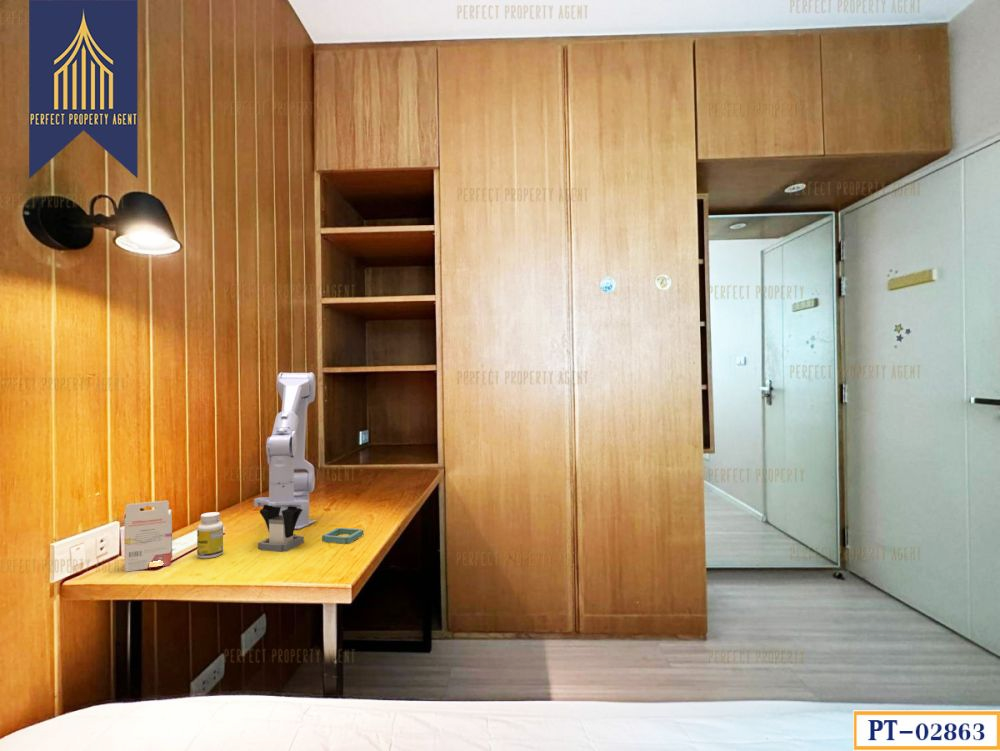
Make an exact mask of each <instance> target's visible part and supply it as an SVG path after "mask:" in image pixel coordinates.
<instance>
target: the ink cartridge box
mask: <svg viewBox="0 0 1000 751" xmlns="http://www.w3.org/2000/svg"><path fill="white" fill-rule="evenodd" d="M147 507H149V508H154V509H146V510H141V509H144V508H147ZM169 507H170V502H169V500H159V501H148V502H147V501H146V502H138V503H137V502H136V503H128V504H126V505H125V515H124V516H125V517H124V520H123V521H124V522H123V525H124V528H123V529H124V530H123V531H124V535H123V536H124V542H123V544H124V547H123V549H124V572H125V573H127V572H133V571H134V572H135V571H142V570H149V569H150V568H149V566H148V564H149V563H150V562H153V561H158V560H161V561H163V563H164V564H163V567H168V566H170V565H171V563H172V561H171V558H172V559H173V520H172V519H173V517H172V515H173V514H172V512H173V510H172V509H170V508H169ZM148 568H149V569H148Z"/></svg>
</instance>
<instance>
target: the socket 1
mask: <svg viewBox="0 0 1000 751" xmlns="http://www.w3.org/2000/svg"><path fill="white" fill-rule="evenodd" d="M304 543H305V538H304V536H302V535H296V534H295V535H294V534H293V540H292V541H290V542H288V543H286V544H276V543H269V537H268V538H266V539H263V540H260V541H259V542H258V543H257V549H258V550H260V551H269V552H270V551H271V552H289V550H292V549H294V548H295V547H298V546H299V545H301V544H304Z"/></svg>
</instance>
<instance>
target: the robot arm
mask: <svg viewBox="0 0 1000 751" xmlns="http://www.w3.org/2000/svg"><path fill="white" fill-rule="evenodd" d="M276 388H277V392H278V393H279V395H278V396H279V397H280V399H281V401H282V403H281V404H282V405H281V411H280V412H278V413H277V414H276V416H275V420H274V422H273V427H272V432H271V436H267V439H266V446H265V450H266V452H265V453H266V457H267V465H268V466H269V467H268V471H269V472H268V475H269V476H268V487H269V488H268V495H269V496H268V497H267V496H266V497H265V496H264V497H263V496H261V497H260V496H259V497H256V498H254V499H253V500H254V501H253V503H254V505H253V506H254V507H256V508H257V507H262V508H261V509H260V510H259V514H260V515H261V516H262V518H263V520H264V522H265V524H266V528H267V531H268V532H269V519H272V518H274V517H277V516H279V515H282V516H283V518H284V523H285V537H286V538H289V537H291V536H293V535H294V532H295V530H301V529H303V528H305V527H307V526H310V525H312V524H315V522H316V519H310V493H313V491H314V489H315V484H316V475H315V466H314V465H313V463H310V462H309V461H308V460H306V434H307V412H308V411H307V410H308V407H309V404H310V403H313V402H314V401H315V398H316V375H315V374H314V372H283V371H282V372H279V373H278V375H277V378H276Z"/></svg>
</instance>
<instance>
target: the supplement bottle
mask: <svg viewBox="0 0 1000 751" xmlns="http://www.w3.org/2000/svg"><path fill="white" fill-rule="evenodd" d="M220 519H221V514H220V512H218V511H212V512H209V511H208V512H205V513H202V514H201V515H200V522H201V523H199V524H198V525H197V529H196V532H197V533H196V536H197V540H196V541H197V543H196V548H197V549H196V550H197V551H196V552H197V553H196V554H197V555H196V556H197V557H198V558H200V559H211V558H216V557H219V556H221V555H222V554H223V553H224V524H223V522H222V521H221V520H220Z"/></svg>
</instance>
